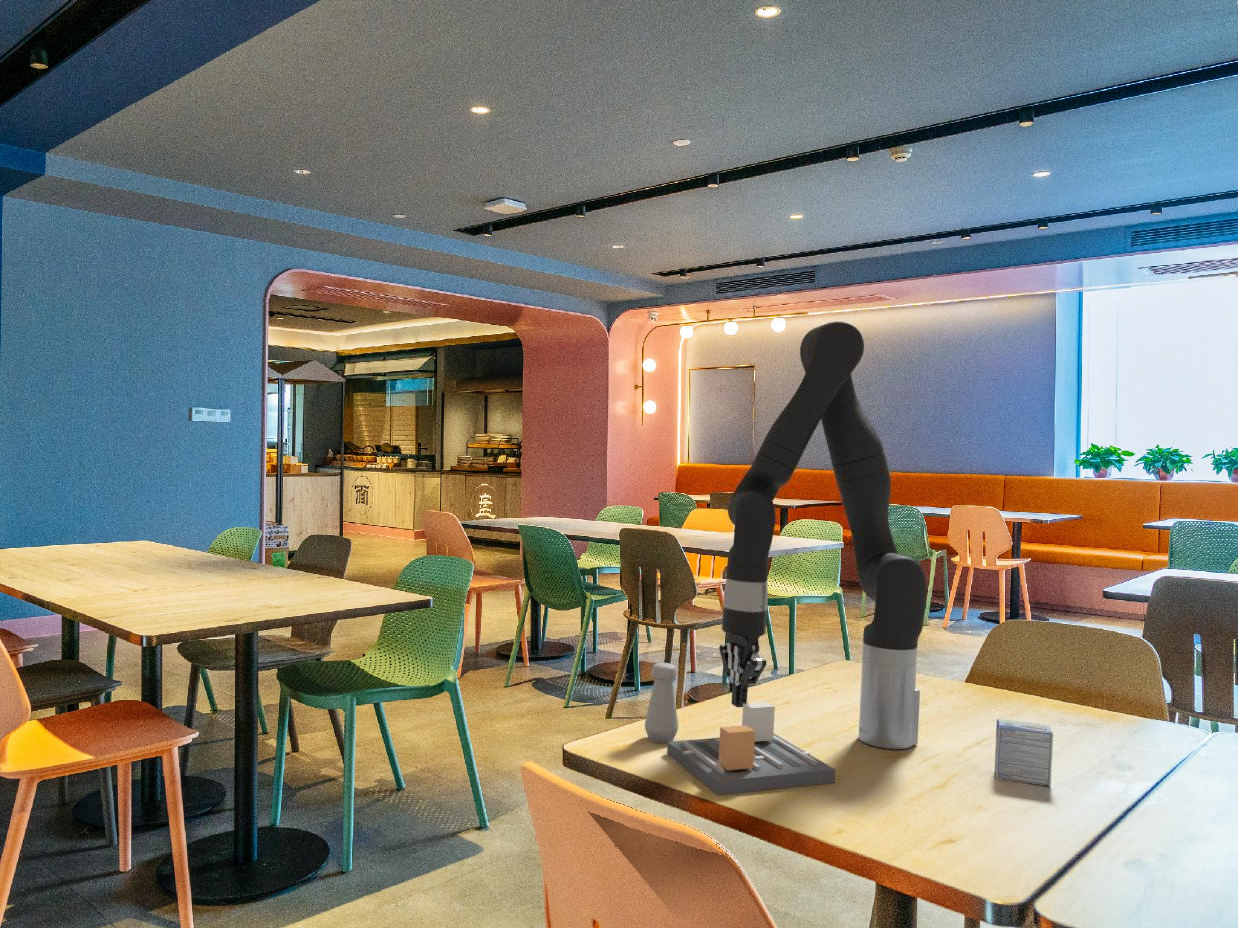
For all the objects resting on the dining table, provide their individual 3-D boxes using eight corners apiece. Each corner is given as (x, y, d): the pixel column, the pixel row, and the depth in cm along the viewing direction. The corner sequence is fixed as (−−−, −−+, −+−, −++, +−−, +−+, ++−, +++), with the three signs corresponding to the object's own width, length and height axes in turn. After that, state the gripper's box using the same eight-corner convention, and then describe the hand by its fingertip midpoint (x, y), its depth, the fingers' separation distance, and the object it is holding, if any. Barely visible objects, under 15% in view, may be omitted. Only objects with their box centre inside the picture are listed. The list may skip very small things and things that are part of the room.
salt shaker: (675, 746, 148) (678, 669, 148) (641, 742, 149) (645, 666, 149) (679, 736, 153) (683, 661, 153) (647, 732, 155) (650, 659, 155)
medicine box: (1047, 778, 141) (1049, 724, 140) (1051, 787, 136) (1053, 732, 136) (993, 770, 143) (996, 717, 143) (995, 779, 139) (998, 724, 139)
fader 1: (744, 761, 135) (745, 725, 135) (753, 767, 132) (755, 730, 132) (718, 763, 133) (720, 726, 133) (727, 770, 131) (729, 732, 130)
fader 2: (764, 734, 149) (766, 701, 149) (773, 740, 146) (774, 706, 146) (741, 736, 147) (743, 703, 147) (749, 741, 144) (751, 707, 144)
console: (773, 744, 151) (774, 729, 151) (834, 782, 134) (835, 765, 134) (667, 753, 144) (667, 737, 144) (717, 794, 127) (718, 776, 127)
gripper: (784, 612, 147) (777, 716, 147) (745, 599, 159) (739, 694, 159) (744, 612, 144) (738, 718, 144) (708, 599, 157) (702, 696, 157)
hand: (738, 705), depth 152 cm, fingers closed
